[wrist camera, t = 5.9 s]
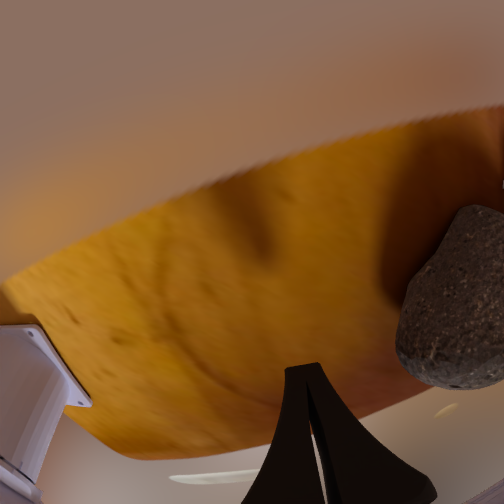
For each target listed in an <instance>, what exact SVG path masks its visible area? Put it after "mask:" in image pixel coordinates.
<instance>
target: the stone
mask: <svg viewBox="0 0 504 504" xmlns="http://www.w3.org/2000/svg"><path fill="white" fill-rule="evenodd" d="M395 344H396V353H397V355H398V357H399V361H400V363H401V364H402V366H403V367H404V368H405V369H406V370H407V371H408V372H409V373H410V374H411V375H412V376H414V377H415V378H417V379H419V380H420V381H422V382H424V383H426V384H429V385H433V386H437V387H441V388H445V389H449V390H474V389H480V388H484V387H487V386H490V385H494V384H496V383H498V382H500V381H501V380H503V379H504V214H502V213H500V212H498V211H496V210H494V209H491V208H488V207H486V206H482V205H475V204H474V205H469V206H465V207H462V208H459V210H458V212H457V214H456V216H455V218H454V220H453V222H452V224H451V225H450V227H449V229H448V231H447V233H446V235H445V237H444V238H443V240H442V242H441V244H440V246H439V248H438V249H437V251H436V253H435V254H434V255H433V256H432V257H431V258H430V259H429V260H428V261H427V262H426V264H425V265H424V266H423V267H422V268H421V269H420V270H419V271H418V272H417V274H416V275H415V276H414V277H413V278H412V279H411V280H410V282H409V284H408V286H407V292H406V296H405V300H404V303H403V306H402V310H401V314H400V319H399V323H398V328H397V332H396V341H395Z"/></svg>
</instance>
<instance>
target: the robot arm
mask: <svg viewBox="0 0 504 504" xmlns="http://www.w3.org/2000/svg"><path fill="white" fill-rule="evenodd" d="M92 404H93V402H92V400H91V399H90V398H89V397H88V395H87V394H86V393H85V392H84V390H83V389H82V388H81V386H80V385H79V384H78V382H77V381H76V380H75V378H74V377H73V376H72V374H71V373H70V371H69V370H68V369H67V367H66V366H65V364H64V363H63V362H62V360H61V359H60V357H59V356H58V354H57V353H56V351H55V350H54V348H53V347H52V345H51V343H50V342H49V340H48V339H47V337H46V335H45V334H44V332H43V330H42V329H41V328H40V327H39V326H38V325H35V324H28V325H2V326H0V504H43V503H42V501H41V497H42V494H43V492H42V491H41V490H40V489H38V488H37V487H36V486H34V485H35V484H36V481H37V478H38V475H39V472H40V469H41V466H42V463H43V460H44V458H45V455H46V452H47V449H48V447H49V444H50V442H51V439H52V436H53V434H54V431H55V429H56V426H57V424H58V422H59V419H60V417H61V414H62V412H63V410H64V407H65V405H73V406H81V407H91V406H92ZM309 420H310V423H309ZM310 424H311V427H312V431H313V434H314V438H315V441H316V445H317V448H318V452H319V456H320V459H321V464H322V469H323V475H324V481H325V488H326V495H327V501H328V504H430V503H431V502H433V501H434V500H435V499H436V498H437V492H436V489H435V487H434V486H433V484H432V482H431V481H430V479H429V478H428V477H427V476H426V475H424V474H423V473H421V472H419V471H418V470H416V469H414V468H413V467H411V466H410V465H408V464H407V463H405V462H404V461H403V460H401V459H400V458H398V457H397V456H396V455H395V454H393V453H392V452H391V451H390V450H388V449H387V448H386V447H385V446H383V445H382V444H381V443H380V442H379V441H378V440H377V439H376V438H375V437H374V436H373V435H372V434H371V433H370V432H368V430H366V428H364V426H363V425H362V424H361V423H360V422H359V421H358V420H357V419H356V417H355V416H354V415H353V414H352V413H351V411H350V410H349V409H348V408H347V406H346V405H345V404H344V402H343V401H342V400H341V398H340V397H339V395H338V394H337V393H336V391H335V390H334V388H333V387H332V385H331V383H330V382H329V380H328V378H327V377H326V375H325V373H324V371H323V369H322V367H321V365H320V363H318V362H316V363H310V364H305V365H299V366H293V367H287V368H286V369H285V388H284V396H283V402H282V407H281V412H280V416H279V420H278V424H277V427H276V431H275V434H274V437H273V440H272V443H271V446H270V449H269V451H268V453H267V456H266V458H265V460H264V463H263V465H262V467H261V469H260V471H259V473H258V475H257V477H256V479H255V481H254V483H253V485H252V486H251V488H250V490H249V491H248V493H247V495H246V496H245V498H244V500H243V501H242V502H241V504H325V500H324V496H323V491H322V486H321V481H320V476H319V472H318V467H317V462H316V457H315V452H314V447H313V441H312V437H311V431H310ZM462 504H504V478H503V479H502V480H500V481H499V482H497V483H496V484H494V485H493V486H491V487H490V488H488V489H487V490H485V491H483V492H482V493H480V494H478V495H477V496H475V497H473V498H471V499H470V500H468V501H466V502H464V503H462Z"/></svg>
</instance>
